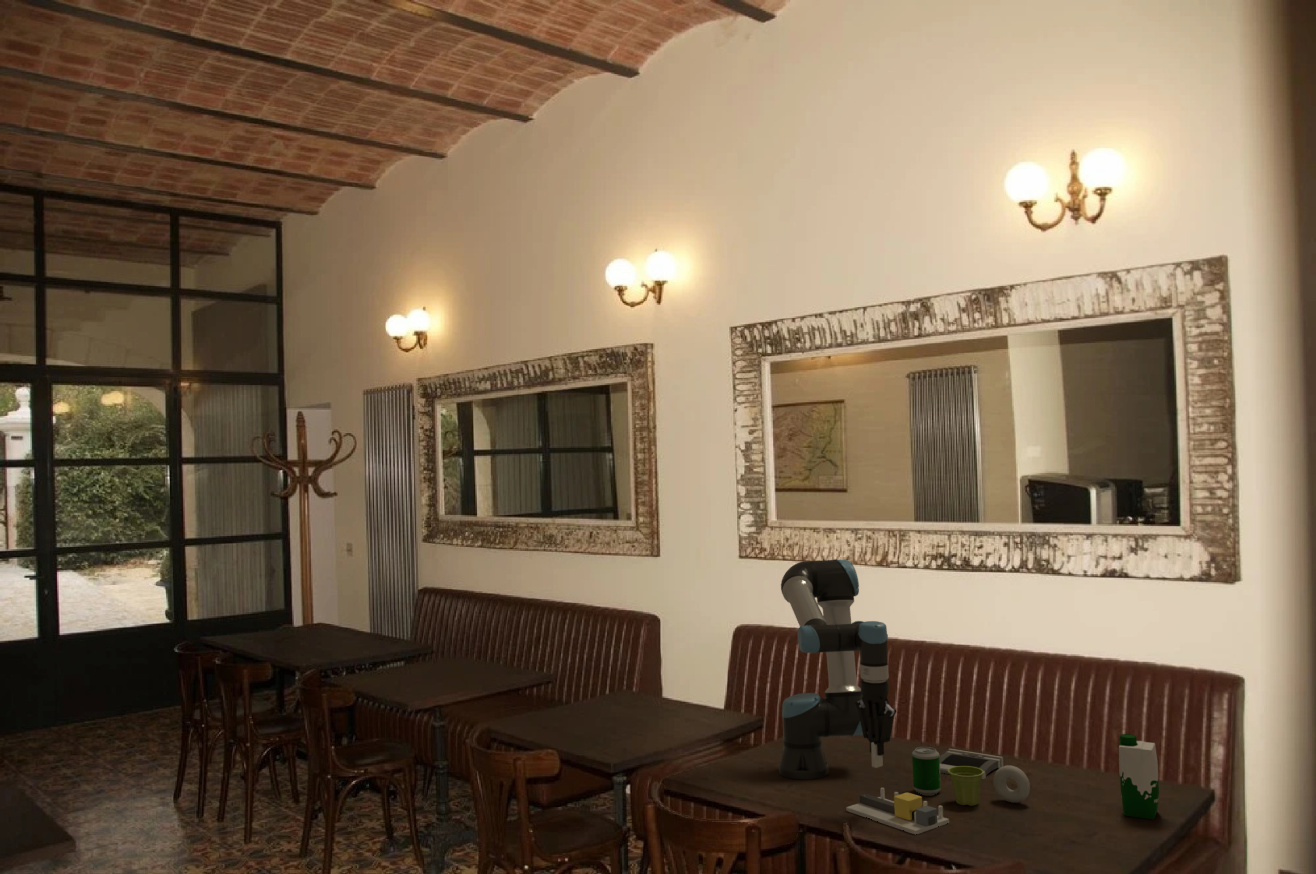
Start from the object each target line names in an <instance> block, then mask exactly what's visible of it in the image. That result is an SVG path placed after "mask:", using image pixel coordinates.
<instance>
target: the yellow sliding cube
mask: <svg viewBox="0 0 1316 874" xmlns="http://www.w3.org/2000/svg"><path fill="white" fill-rule="evenodd" d="M893 801H894V808H895V816H898V817H901V818H904V819H907V820H912V812H913V811H916V809H918V808H921V807H923V796H920V795H917V794H914V793H911V792H904V793H900V794H899V795H897V796H894V795H893Z"/></svg>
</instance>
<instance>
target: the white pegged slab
mask: <svg viewBox="0 0 1316 874" xmlns="http://www.w3.org/2000/svg"><path fill="white" fill-rule="evenodd" d="M885 790H886V789H885V788H884V787H880V791H879V792H880V796H874V795H872V794H868V793H863V794H860V795H859V803H856V804H852V805H849V806H846V807H845V808H846V810H845V811H846V812H849V813H851V814H854V815H856V816H857V815H858V816H860V817H864V818H866V817H867V818H866V819H868V818H870V819H869V820H871V819H872V821H874V822H877V821H878V822H877V823H881V824H883V825H886V826H889V827H892V828H895V829H896V830H897V829H898V830H901V831H903V830H904V831H903V832H906V833H909V834H912V835H915V836H917V835H919V834H922V833H924V832H929V831H930V830H933V829H936V828H939V827H942V826H944V825H948V824H949V823H950V818H947V817H944V807H943V805H938V808H936V807H933V806H929V805H928V804H929V803H928V801H927V800H924V801H923V800H922V807H921V808H918V809H916V811H913V812H912V820H907V819H904V818H901V817H898V816H895V808H894V800H890V799H887V798H886V794H885V793H886V791H885ZM893 794H894V795H893V797H894V796H897V795H900V794H899V792H898V791H894V792H893ZM947 823H948V824H947ZM938 826H939V827H938ZM916 834H917V835H916Z"/></svg>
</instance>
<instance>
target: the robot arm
mask: <svg viewBox="0 0 1316 874" xmlns="http://www.w3.org/2000/svg"><path fill="white" fill-rule="evenodd" d="M780 582H781V583H780V590H781V594H782V597H783V599H784V600H785V601H786V602H788V604H790V607H791V609H792V612H793V614H794V617H795V619H796V621H797V623H798V625H799V627H798V629H797V643H798V648H799V651H800V652H802V653H804V654H806V653H808V654H817V653H818V654H819V653H825V654H826V664H827V675H828V676H827V677H828V678H827V679H828V688H826V689H825V691H824V698H823V697H822V698H821V696H820V695H819V694H818V693H817V692H816V693H815V692H801V693H796V694H793V695H790V696H789V697H786V698H785V699H784V700H783V702H782V705H781V706H782V709H781V710H782V711H781V717H782V733H783V738H782V739H783V749H782V753H781V757H780V761H779V763H778V773H779V774H780V775H781V776H782V777H784V778H788V779H792V780H793V779H795V780H814V779H816V780H817V779H819V778H820V779H821V778H823V777H826V776H827V775H828V774H829V763H828V762H827V758H826V755H825V752H824V750H823V746H822V745H823V744H822V743H823V742H822V738H834V737H856V736H863V738H864V739H867V741H868V742H869V752H870V754H871V767H872V768H876V769H877V768H880V767H883V765H884V763H883V762H884V761H883V756H884V755H885V744H886V743H889V742H890V741H891V735H892V728H893V723H894V718H895V716H896V713H897V708H892V707H891V705H890V702H889V699H888V696H889V694H890V682H889V680H888V679H889V677H890V675H889V654H888V648H889V647H888V638H889V635H888V629H887V624H885V623H884V622H882V621H876V620H868V621H866V620H865V621H863V620H856V621H853V622H852V617H851V607H852V606H853V604H854V603H855V597H857V596H858V595H859V594H860V584H859V578H858V574H857V570H856V568H855V566H854V564H853V563H852V562H851V561H850V560H847V559H828V560H827V559H825V560H804V561H799V562H796V563H795V564H794V565H792V566H791V567H789V568H788V570H786V571H785V573H784V575H783V577H782V579H781V581H780ZM820 607H821V608H820ZM821 609H822V610H821ZM856 651H858V652H859V667H860V670H859V672H860V674H859V675H860V679H861V680H860V686H858V683H857V682H858V681H857V671H856V670H857V669H856V659H855V658H856V657H855V652H856Z"/></svg>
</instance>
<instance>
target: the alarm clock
mask: <svg viewBox="0 0 1316 874" xmlns="http://www.w3.org/2000/svg"><path fill="white" fill-rule="evenodd" d="M939 759H940V774H944V773H945V775H950V774H949V773H948V769H949V768H952V767H956V766H971V767H976V768H980V769H982V770H983V771H984V773H983V775H982V779H983V780H984V779H986V778H987V775H988V774H989V773H991V772H992V771H994V770H996V769H999V768H1000V767H1003V766H1004V756H998V755H993V754H987V753H980V752H973V751H967V750H966V751H965V750H961V749H954V748H948V749H947V750H946V751H945V753H943V754H941V755H939Z"/></svg>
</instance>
